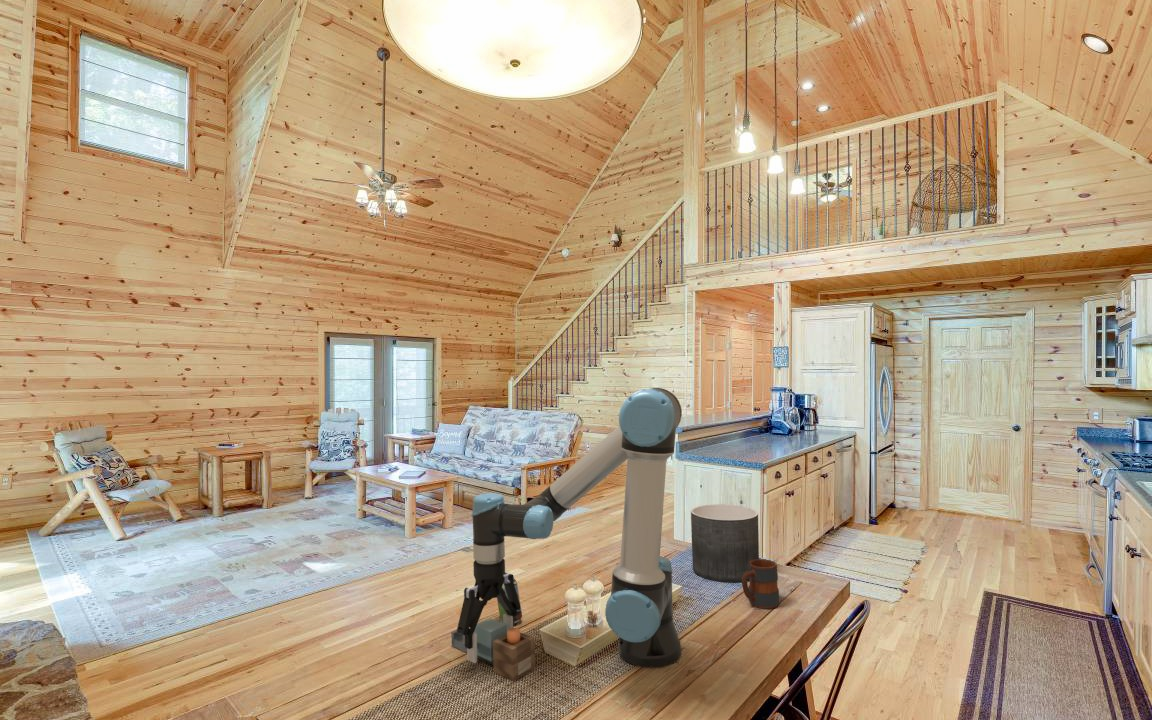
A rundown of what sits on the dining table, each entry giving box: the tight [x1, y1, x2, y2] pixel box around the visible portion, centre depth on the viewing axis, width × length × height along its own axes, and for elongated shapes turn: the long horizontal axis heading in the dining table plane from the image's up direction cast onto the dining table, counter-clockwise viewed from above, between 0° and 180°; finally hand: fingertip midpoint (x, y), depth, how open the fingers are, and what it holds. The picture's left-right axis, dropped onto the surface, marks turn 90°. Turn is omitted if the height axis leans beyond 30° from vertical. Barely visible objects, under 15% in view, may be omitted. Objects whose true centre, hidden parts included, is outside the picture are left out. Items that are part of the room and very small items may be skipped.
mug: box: [741, 558, 780, 610], centre depth 166 cm, size 9×12×12 cm
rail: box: [450, 629, 493, 666], centre depth 141 cm, size 18×3×4 cm, turn 50°
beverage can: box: [496, 578, 523, 624], centre depth 159 cm, size 6×7×12 cm
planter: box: [690, 503, 760, 583], centre depth 195 cm, size 22×22×20 cm
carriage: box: [474, 617, 507, 661], centre depth 138 cm, size 6×5×7 cm
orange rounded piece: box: [507, 627, 521, 646], centre depth 133 cm, size 3×3×4 cm
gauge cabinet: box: [492, 632, 536, 682], centre depth 133 cm, size 7×7×7 cm
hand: (490, 651), depth 138 cm, fingers open, 11 cm apart
